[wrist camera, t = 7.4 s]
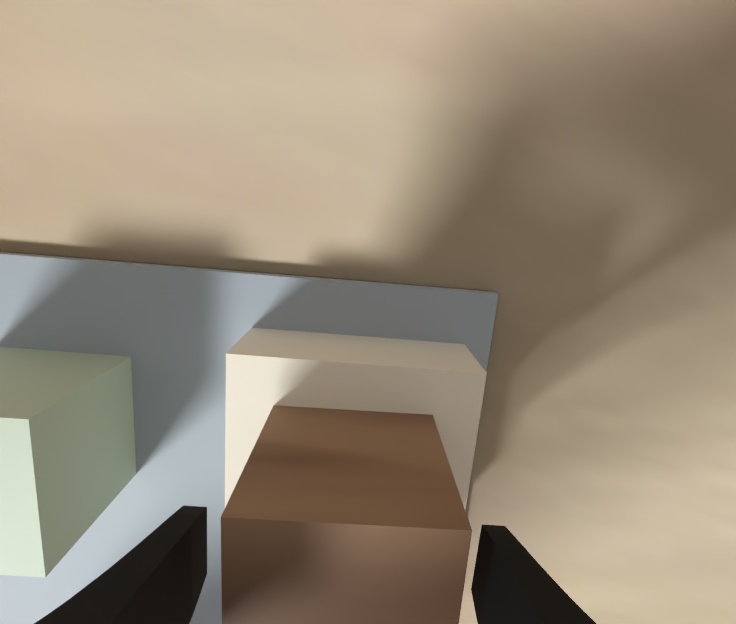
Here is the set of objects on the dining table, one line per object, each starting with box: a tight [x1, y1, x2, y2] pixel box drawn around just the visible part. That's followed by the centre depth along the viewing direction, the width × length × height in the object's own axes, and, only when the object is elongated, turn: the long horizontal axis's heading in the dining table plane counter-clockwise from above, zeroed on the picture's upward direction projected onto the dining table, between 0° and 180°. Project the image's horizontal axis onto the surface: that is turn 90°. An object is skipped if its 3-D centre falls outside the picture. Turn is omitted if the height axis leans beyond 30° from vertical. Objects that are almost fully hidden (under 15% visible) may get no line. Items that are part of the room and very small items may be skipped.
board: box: [0, 252, 499, 624], centre depth 18 cm, size 22×20×1 cm
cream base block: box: [225, 328, 487, 511], centre depth 15 cm, size 8×8×3 cm
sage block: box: [0, 347, 136, 578], centre depth 14 cm, size 5×5×5 cm
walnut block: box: [221, 405, 472, 624], centre depth 11 cm, size 5×5×5 cm
